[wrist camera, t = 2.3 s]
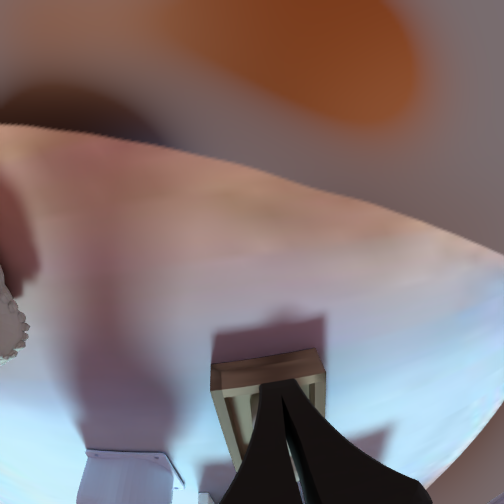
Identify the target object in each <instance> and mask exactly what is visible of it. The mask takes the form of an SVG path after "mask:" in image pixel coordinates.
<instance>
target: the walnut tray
mask: <svg viewBox="0 0 504 504" xmlns="http://www.w3.org/2000/svg"><path fill="white" fill-rule="evenodd" d="M292 378H294V379H295V380H297V382H298V384H299V386H300V387H301V389H302V390H303V392H304V393H305V395H306V396H307V398H308V399H309V400H310V402H311V403H312V404H313V405H314V407H315V408H316V409H317V410H318V411H319V412H320V414H321V415H322V416H323V417H324V418H325V396H326V371H325V369H324V367H323V364H322V362H321V360H320V357H319V355H318V353H317V351H316V348H312V349H307V350H302V351H296V352H291V353H285V354H279V355H273V356H267V357H261V358H254V359H248V360H241V361H234V362H226V363H218V364H211V376H210V392H211V395H212V399H213V402H214V406H215V409H216V412H217V415H218V419H219V422H220V425H221V428H222V431H223V434H224V437H225V440H226V444H227V447H228V450H229V453H230V456H231V458H232V461H233V464H234V467H235V470H236V473H237V472H238V469H239V467H240V465H241V463H242V461H243V458H244V456H245V453H246V451H247V448H248V445H249V442H250V439H251V435H252V432H253V429H254V425H255V420H256V415H257V410H258V403H259V386H260V385H261V384H262V383H269V382H275V381H281V380H286V379H292ZM286 441H287V440H286ZM287 446H288V443H287ZM288 450H289V454H290V458H291V462H292V466H293V470H294V474H295V477H296V481H297V482H298V481H299V480H300V479H299V476H298V473H297V471H296V468H295V465H294V462H293V459H292V456H291V453H290V449H289V446H288Z"/></svg>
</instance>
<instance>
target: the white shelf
mask: <svg viewBox="0 0 504 504" xmlns="http://www.w3.org/2000/svg"><path fill="white" fill-rule="evenodd" d="M198 504H214V502H213V500H212V498H211V497H210V495H209V493H208V492H207V493H198Z"/></svg>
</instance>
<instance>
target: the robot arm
mask: <svg viewBox="0 0 504 504" xmlns="http://www.w3.org/2000/svg"><path fill="white" fill-rule="evenodd" d="M286 440H287V441H286ZM287 443H288V446H289V449H290V453H291V456H292V459H293V462H294V465H295V468H296V471H297V473H298V476H299V479H300V483H301V486H302V490H303V494H304V499H305V504H432V503H433V502H432V500H431V498H430V496H429V494H428V492H427V491H426V490H425V488H424V487H423V486H422V485H421V483H420V482H419V481H417V480H415V479H412V478H410V477H407V476H405V475H403V474H401V473H399V472H396V471H394V470H392V469H391V468H389V467H387V466H385V465H383V464H381V463H380V462H378V461H377V460H375V459H373V458H372V457H370V456H369V455H367V454H365V453H364V452H363V451H361V450H360V449H358V448H357V447H356V446H354V445H353V444H352V443H351V442H349V441H348V440H347V439H346V438H345V437H343V436H342V435H341V434H340V433H339V432H338V431H337V430H336V429H335V428H334V427H333V426H332V425H331V424H330V423H329V422H328V421H327V420H326V419H325V418H324V417H323V416H322V415H321V414H320V412H319V411H318V410H317V409H316V408H315V407H314V405H313V404H312V403H311V402H310V400H309V399H308V398H307V396H306V395H305V393H304V392H303V390H302V389H301V387H300V386H299V384H298V382H297V380H295V379H294V378H292V379H286V380H281V381H275V382H269V383H262V384H261V385H260V386H259V403H258V410H257V415H256V420H255V425H254V429H253V432H252V435H251V439H250V442H249V445H248V448H247V451H246V453H245V456H244V458H243V461H242V463H241V465H240V467H239V469H238V472H237V474H236V476H235V478H234V480H233V481H232V483H231V485H230V487H229V489H228V490H227V492H226V493H225V495H224V497H223V498H222V500H221V501H220V503H219V504H303V503H302V499H301V496H300V492H299V488H298V485H297V481H296V477H295V474H294V470H293V466H292V462H291V458H290V454H289V450H288V446H287ZM85 454H86V455H87V456H88V459H87V462H86V466H85V469H84V472H83V476H82V479H81V483H80V486H79V490H78V494H77V500H76V504H172V495H173V490H184V489H185V486H184V484H183V483H182V481H181V479H180V478H179V476H178V474H177V473H176V471H175V470H174V468H173V466H172V465H171V463H170V461H169V460H168V458H167V456H166V455H165V454H164V453H138V452H113V451H98V450H86V452H85ZM486 504H504V492H503V493H502V494H500V495H499V496H497V497H495V498H494V499H493V500H491V501H489V502H488V503H486Z"/></svg>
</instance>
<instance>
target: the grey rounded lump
mask: <svg viewBox="0 0 504 504" xmlns="http://www.w3.org/2000/svg"><path fill="white" fill-rule="evenodd" d="M25 320H26V316H25V314H24V313H22V312H20V311H19V310H18V305H17V303H16V302H15V301H14V300H13V298H12V295H11V293H10V291H9V290H8V288H7V287H6V286H5V283H4V273H3V270H2V268H1V265H0V367H1V366H2V365H4V364H5V363H7V362H8V361H10V360H11V359H12V358H14V357H16V356H17V354H18V351H20V350H22V349H23V348H24V347H25V346H26V345H25V342H24V341H26V340H27V339H28V337H29V336H28V334H26V333H25V332H24V331H27V330H29V328H30V326H29V325H28V324H27V323H24V322H25Z"/></svg>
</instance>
